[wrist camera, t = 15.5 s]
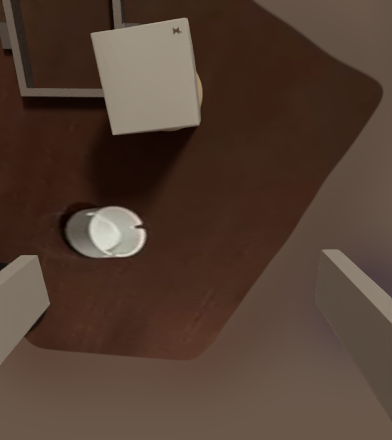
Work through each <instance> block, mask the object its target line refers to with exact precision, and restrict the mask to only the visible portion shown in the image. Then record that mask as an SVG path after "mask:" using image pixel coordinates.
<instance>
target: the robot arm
mask: <svg viewBox="0 0 392 440" xmlns="http://www.w3.org/2000/svg"><path fill="white" fill-rule="evenodd" d="M314 301H315V303H316V304H317V306H318V307H319V309H320V311H321V312H322V314H323V315H324V317H325V318H326V320H327V321H328V323H329V324H330V326H331V328H332V329H333V331H334V332H335V334H336V335H337V337H338V338H339V340H340V341H341V343H342V345H343V346H344V348H345V349H346V351H347V352H348V354H349V356H350V357H351V359H352V360H353V362H354V363H355V365H356V366H357V368H358V370H359V371H360V373H361V374H362V376H363V377H364V379H365V380H366V382H367V383H368V385H369V387H370V388H371V390H372V391H373V393H374V394H375V396H376V398H377V399H378V401H379V402H380V404H381V405H382V407H383V408H384V410H385V412H386V413H387V415H388V416H389V418H390V419H391V421H392V298H391V297H390V296H388V295H387V294H386V293H385V292H384V291H383V290H382V289H381V288H380V287H379V286H378V285H377V284H376V283H375V282H373V281H372V280H371V279H370V278H369V277H368V276H367V275H366V274H365V273H364V272H362V271H361V270H360V269H359V268H358V267H357V266H356V265H355V264H354V263H353V262H352V261H350V260H349V259H348V258H347V257H346V256H345V255H344V254H343V253H342V252H341V251H339V250H322V251H321V257H320V263H319V270H318V276H317V284H316V290H315V297H314ZM49 305H50V302H49V299H48V295H47V291H46V287H45V283H44V279H43V275H42V271H41V268H40V264H39V260H38V256H37V255H21V256H20V257H18V258H17V259H16V260H14V261H13V262H12V263H10V264H5V263H0V365H1V363H2V362H3V361H4V360H5V359H6V357H7V356H8V355H9V354H10V352H11V351H12V350H13V349H14V348H15V346H16V345H17V344H18V343H19V341H20V340H21V339H22V338H23V337H24V335H25V334H26V333H27V332H29V331H30V330H32V329H33V328H34V327H35V326H36V325H37V324H38V323H39V321H40V320H41V319H42V318H43V316H44V315H45V313H46V310H47V307H48V306H49Z"/></svg>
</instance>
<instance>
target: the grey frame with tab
mask: <svg viewBox="0 0 392 440" xmlns="http://www.w3.org/2000/svg"><path fill="white" fill-rule="evenodd" d="M2 1H3V6H4V11H5V16H6V22H7V23H0V37H1V42H2V47H3V49H5V50H12V52H13V57H14V62H15V67H16V72H17V78H18V83H19V88H20V93H21V96H24V97H53V98H104V93H103V89H50V88H35V86H34V81H33V75H32V69H31V64H30V58H29V53H28V47H27V41H26V36H25V30H24V25H23V19H22V13H21V8H20V2H19V0H2ZM112 3H113V15H114V28H115V29H121V28H127V27H133V26H139V25H140V24H139V23H126V20H125V5H124V0H112Z"/></svg>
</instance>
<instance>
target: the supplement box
mask: <svg viewBox="0 0 392 440" xmlns="http://www.w3.org/2000/svg"><path fill="white" fill-rule="evenodd" d="M91 38H92V43H93V48H94V52H95V57H96V61H97V66H98V70H99V75H100V79H101V84H102V89H103V93H104V98H105V103H106V107H107V112H108V116H109V121H110V125H111V129H112V134H113V135H122V134H133V133H143V132H153V131H162V130H170V129H178V128H186V127H194V126H199V123H200V122H201V117H200V105H199V94H198V85H197V76H196V68H195V59H194V53H193V47H192V41H191V35H190V29H189V24H188V19H187V18H181V19H175V20H169V21H163V22H157V23H151V24H145V25H139V26H133V27H127V28H121V29H115V30H109V31H102V32H96V33H91Z"/></svg>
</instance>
